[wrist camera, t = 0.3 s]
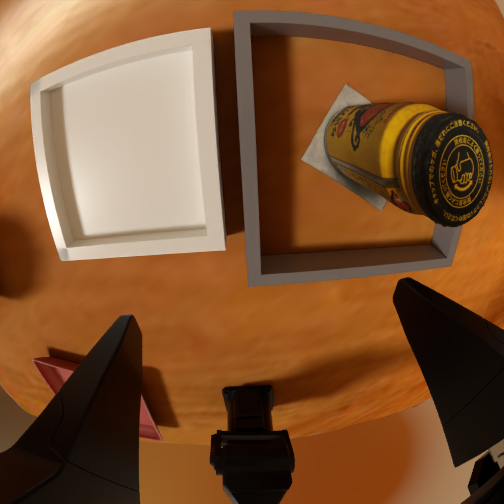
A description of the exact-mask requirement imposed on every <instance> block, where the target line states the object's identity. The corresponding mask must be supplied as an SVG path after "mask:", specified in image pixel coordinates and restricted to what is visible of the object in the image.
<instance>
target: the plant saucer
mask: <svg viewBox="0 0 504 504" xmlns="http://www.w3.org/2000/svg"><path fill="white" fill-rule="evenodd" d="M32 362H33V363H34V365H35V367H36V368H37V370H38V371H39V373H40V374H41V376H42V377H43V379H44V380H45V382H46V383H47V385H48V386H49V388H50V389H51V391H52V392H53V393H54V395H56V394H57V392H59V390H60V388H61V387H62V386H63V385H64V383H65V382H66V381H67V379H68V378H69V377H70V376H71V374H72V373H73V372H74V370H75V369H76V368H77V367H78V365H79V364H77V363H73V362H69V361H65V360H61V359H58V358H54V357H41V358H35V359H33V360H32ZM139 438H144V439H150V440H156V441H162V440H163V439H162V436H161V434H160V432H159V430H158V428H157V426H156V424H155V422H154V420H153V417H152V415H151V413H150V411H149V409H148V406H147V404H146V402H145V400H144V397H143V395H142V393H141V407H140V425H139Z"/></svg>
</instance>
